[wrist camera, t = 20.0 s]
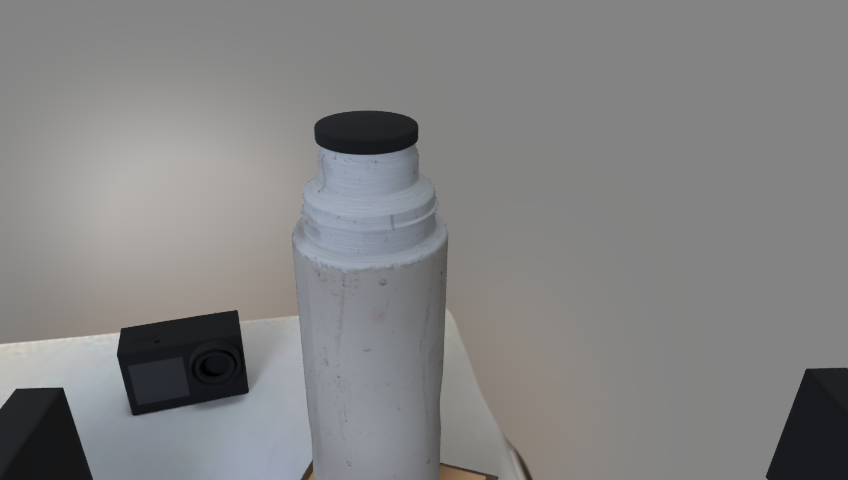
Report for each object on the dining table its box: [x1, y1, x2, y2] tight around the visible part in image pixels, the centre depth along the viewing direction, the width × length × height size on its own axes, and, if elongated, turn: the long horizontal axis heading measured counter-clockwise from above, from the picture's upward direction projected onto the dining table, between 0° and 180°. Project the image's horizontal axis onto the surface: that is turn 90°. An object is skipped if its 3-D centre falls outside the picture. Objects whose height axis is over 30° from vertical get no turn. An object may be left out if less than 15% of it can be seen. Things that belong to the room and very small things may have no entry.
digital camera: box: [117, 310, 249, 415], centre depth 57 cm, size 10×5×7 cm, turn 109°
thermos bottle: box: [292, 111, 448, 480], centre depth 36 cm, size 8×8×28 cm
